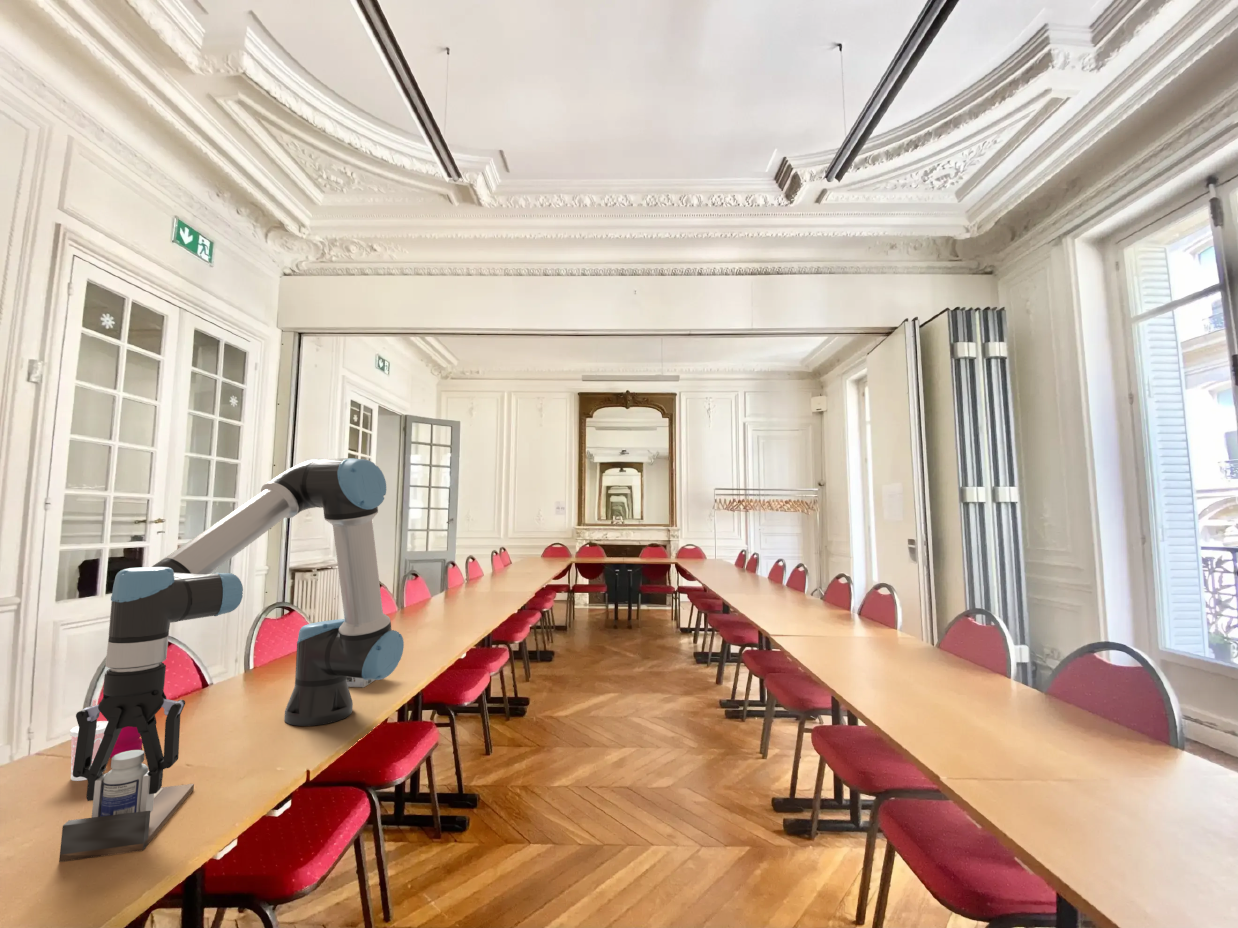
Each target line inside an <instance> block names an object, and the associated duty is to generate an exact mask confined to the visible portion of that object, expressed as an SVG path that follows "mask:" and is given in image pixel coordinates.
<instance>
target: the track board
mask: <svg viewBox="0 0 1238 928" xmlns="http://www.w3.org/2000/svg"><path fill="white" fill-rule="evenodd" d="M194 787H195V783H188V784H181V785H179V784H178V785H170V786H161V788H160V790H159V791H158V792H157V793H155V794H154V801H153V810H152V812H151V813H150V811H143V812H135V813H126V814H118V815H110V816H101V817H93V818H92V817H86V818H78V819H71V820H70V819H69V820H68V821H66V822H65V823H64V824H63V825H62V830H61V840H60V849H59V857H58V862H59V863H61V862H63V863H64V862H69V861H70V862H71V861H77V860H83V859H84V860H85V859H90V858H91V859H92V858H97V857H98V858H99V857H100V858H101V857H106V856H114V855H121V854H127V853H134V852H135V853H136V852H143V851H144V850H145V849H146V847H147V846H148V845H150V843H151V841H152V840H153V839H154V838H155V837H156V836H157V834H158V833H159V832H160V830H162V828H163V827H164V826H165V824H166V823H167V822H168V821H169V820H170V818H171V817H172V816H174V814H175V812H177V810H178V809H179V807H180V806H181V805H182V804H183V803H184V801H185V800H187V798H188V797H189V796H190V795H191V793H192V792H193V791H194V790H195V789H194Z"/></svg>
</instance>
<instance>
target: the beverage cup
mask: <svg viewBox="0 0 1238 928" xmlns="http://www.w3.org/2000/svg"><path fill="white" fill-rule="evenodd" d="M96 705H97V699H96V698H93V699H92V707H93V706H96ZM107 724H108V721H107V720H100V721H98V720H97V726H96V733H95V740H94V748H93V755H92V763H93V760H94V758H95V756H96V753H97V751H98V748H99V746H100V744H101V741H102V739H103V736H104V731H105V729H106V726H107ZM78 731H79V725H76V726H73V727H72V728H71V729H70V730H69V736H70V737H71V742H70V743H71V746H70V750H71V751H70V755H71V756H70V758H71V759H70V780H71V781H75V782H77V781H78V782H79V781H80V782H81V781H88V780H87V779H86V778H84V777H77V778H76V777H74V776H73V767H74V760H75V753H76V746H77V738H78ZM92 763H91V765H92Z"/></svg>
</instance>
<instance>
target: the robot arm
mask: <svg viewBox="0 0 1238 928" xmlns="http://www.w3.org/2000/svg"><path fill="white" fill-rule="evenodd" d="M386 495H387V481H386V478H385V475H384V473H383V471H382V470H381V468H380V467H379V466H378V465H376V463H374V462H373V461H372V460H368V459H363V458H356V457H349V458H315V459H309V460H305V461H303V462H301V463H297V465H294V466H292V467H290V468H289V469H287V470H285V471H283V472H282V473H280V474H278V475H276V476H274V477H273V478H272V479H270V480H269V481H268V482H265V483H264V484H263V485H262V487H261V488H260V492H259V493H258V494H257V495H255V496H254V497H252V498H251V499H249V500H248V501H247V502H245V503H243V504H242V505H240V506H239V507H237V508H236V509H234V510H233V511H232V512H230V513H228V514H227V515H226V516H224V517H223V518H221V519H220V520H218V521H217V522H215V523H213V524H212V525H211V526H210V527H207V528H206V529H205V530H203V531H202V532H201V533H199V534H198V535H196V536H195V537H193V538H192V539H190V540H189V541H188V542H186V543H185V544H183V545H182V546H180V547H178V548H177V549H176V550H174V551H173V552H172V553H170V554H168V555H167V556H165V557H164V558H163V559H161V560H160V561H157V562H156V563H155V564H153V565H152V566H147V567H146V566H145V567H129V568H124V569H121V570H120V571H118V572H117V573H116V575H115V578H114V581H113V587H112V591H111V596H110V601H111V603H110V617H109V627H108V628H109V629H108V639H107V648H106V657H105V667H106V668H107V670H106V671H105V672H104V677H103V690H102V699H101V700H100V702H99V703H98V704H96V706H93V707H92V706H91V705H90V706H89V705H88V706H86V707H85V708H83V709H80V710H79V711H77V712H76V714H75V718H76V722H77V726H79V731H78V738H77V746H76V753H75V760H74V767H73V776H74V777H76V778H77V777H84V778H86V779H87V780H86V781H87V786H86V787H87V788H86V797H85V798H86V801H87V802H91V801H92V810H91V818H93V817H100V814H101V803H102V793H103V781H104V777H105V775H106V774H107V773H108V772H106V773H104V772H105V771H106V770H107V765H108V763H109V760H110V759H111V758H110V756H111V753H112V751H113V748H114V746H115V744H116V741H117V739H118V736H119V734H120V731H121V730H122V728H124V727H128V726H129V727H137V730H138V733H140V735H141V737H140V738H141V739H142V748H143V751H144V757H145V760H146V763H147V764H146V765H147V767H148V772H147V773H146V774H145V775H144V776H143V782H142V793H141V804H140V812H143V811H150V813H151V812H152V810H153V801H154V794H155V793H157V792H158V791H159V790H160V788H161V787H163V775H164V770H167V769H170V768H171V767H172V766H173V765H174V764H175V763H176V762H178V760H179V755H180V750H179V749H180V733H181V731H180V730H181V729H180V728H181V714H182V712H183V710H184V707H185V705H186V701H185V700H184V699H179V700H173V699H168V698H167V695H166V694H165V691H164V689H165V682H166V681H165V679H166V667H167V666H166V664H165V663H164V662H165V661H166V660H167V655H168V647H169V635H170V627H171V623H172V624H173V623H178V622H182V621H188V620H190V621H191V620H196V619H201V618H202V619H203V618H207V617H218V616H220V615H224V614H229V613H231V612H234V611H235V610H237V608H238V607H239V606H240V605H241V603H242V599H243V595H244V593H243V592H244V587H243V586H244V585H243V583H242V581H241V579H240V578H239V577H238V576H237V575H236V574H235V573H231V572H215V571H216V570H218V569H219V568H220V567H221V566H223V565H224V564H225V563H227V562H228V561H229V560H231V559H232V558H233V557H234V556H236V555H237V554H239V553H240V552H241V551H243V550H244V549H246V548H247V547H248V546H249V545H251V544H252V543H254V541H256V540H257V539H259V538H260V537H261V536H262V535H264V534H265V533H266V532H268V531H269V530H270V529H272V528H273V527H274V526H276V525H277V524H279V523H280V522H282V520H284V519H291V518H294V517H296V515H298V514H299V513H300V512H302V511H306V510H308V509H316V508H320V509H323V510H322V511H323V517H324V520H325V521H326V522H328V523H329V524H331V525H332V529H333V530H332V531H333V538H334V539H333V540H334V547H335V553H336V561H337V570H338V577H339V578H338V579H339V586H340V595H341V602H342V610H343V618H339V619H330V620H324V621H323V620H322V621H317V622H312V623H308V624H305V625H303V626H301V627H300V629H299V631H298V637H297V642H296V658H295V660H296V661H295V676H294V677H295V678H294V688H293V690H292V692H291V694H290V697H289V699H288V701H287V704H286V707H285V710H284V717H283V719H284V723H286V724H288V725H291V726H292V725H293V726H297V727H301V726H302V727H309V726H312V727H313V726H319V725H327V724H330V723H331V724H332V723H334V722H335V723H336V722H338V721H341V720H344V719H345V718H347V717H349V716H350V715H351V714H352V713H353V706H354V705H353V704H354V702H353V699H352V696H351V692H350V687H348V684H347V677H354V678H362V679H365V680H371V679H372V680H375V681H379V680H384V679H386V678H387V677H389V676H391V674H393V672H394V671H395V670H396V668H397V667H398V665H399V663H400V661H401V660H402V656H403V653H404V648H405V644H404V643H405V642H404V638H403V635H402V634H401V633H400V632H399V631H397V630H394V629H393V630H392V623H391V618H390V616H389V615H387V614H385V613H384V612H383V611H384V610H383V604H382V603H383V602H382V594H381V593H382V592H381V586H380V584H381V583H380V578H379V569H378V558H377V551H376V542H375V540H376V539H375V532H374V525H373V524H374V523H373V519H374V518H375V517H376V515H377V514H378V513H379V506H381V505H382V503H383V502H384V500H385V497H384V496H386ZM213 572H214V573H213ZM162 708H163V713H164V715H165V716H166V718H165V723H164V743H163V749H162V746H161V741H160V737H159V733H158V730H157V729H158V728H157V718H156V714H158V712H159V711H160V710H161V709H162ZM100 714H101V715H102V716H103V717H104V718H105V720H106V721H108V724H107V726H106V729H105V731H104V736H103V739H102V741H101V744H100V746H99V748H98V751H97V753H96V756H95V758H94V760H93V763H92V755H93V748H94V740H95V733H96V726H97V721H98V718H99V717H100ZM91 763H92V765H91Z"/></svg>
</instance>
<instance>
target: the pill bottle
mask: <svg viewBox="0 0 1238 928" xmlns="http://www.w3.org/2000/svg"><path fill="white" fill-rule="evenodd" d="M144 760H145V752H144V749H143V750H142V749H141V750H131V751H126V752H122V753H119V754H117V755H115V756H113V757H112V758H111V762H110V770H108V772H106V773H107V774H106V775H105V777H104V781H103V793H102V803H101V814H100V817H101V816H110V815H118V814H126V813H135V812H140V804H141V793H142V782H143V776H144V775H145V774H146V773H147V772H148V771H149V768H148V764H145V763H144Z"/></svg>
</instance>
